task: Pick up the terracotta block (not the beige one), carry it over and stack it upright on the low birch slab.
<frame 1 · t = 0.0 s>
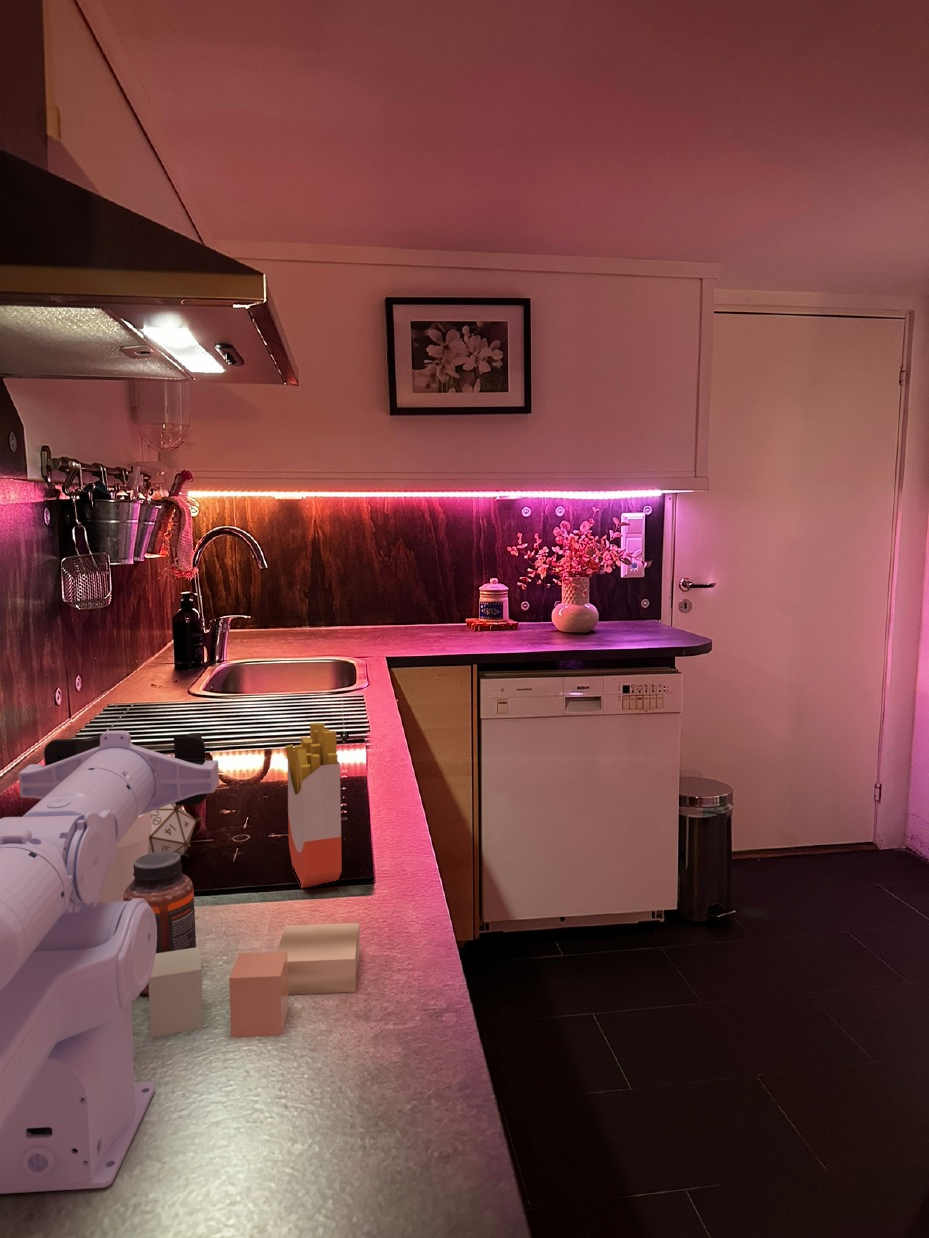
hand: (152, 744, 72), 22 cm above the counter, tool horizontal, fingers open, 7 cm apart
birch slab: (319, 972, 75), on the counter
game die: (164, 864, 102), on the counter
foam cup: (106, 940, 82), on the counter
beige block: (177, 1019, 68), on the counter
french fries container: (313, 878, 98), on the counter
supplement bottle: (162, 982, 74), on the counter
terracotta block: (260, 1022, 68), on the counter
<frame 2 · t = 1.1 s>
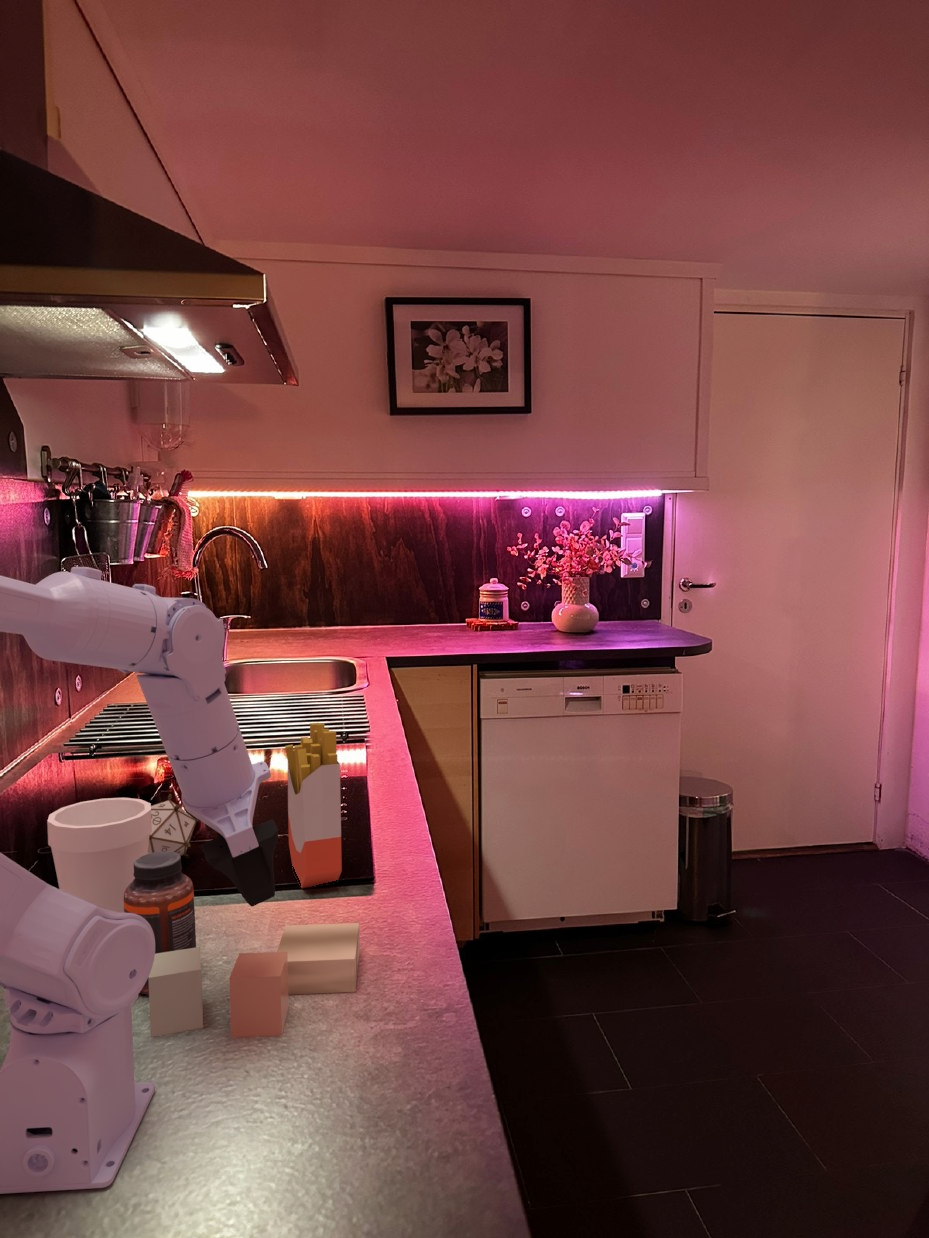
hand: (251, 872, 70), 11 cm above the counter, tool tilted 20°, fingers open, 7 cm apart
nothing on the counter moved.
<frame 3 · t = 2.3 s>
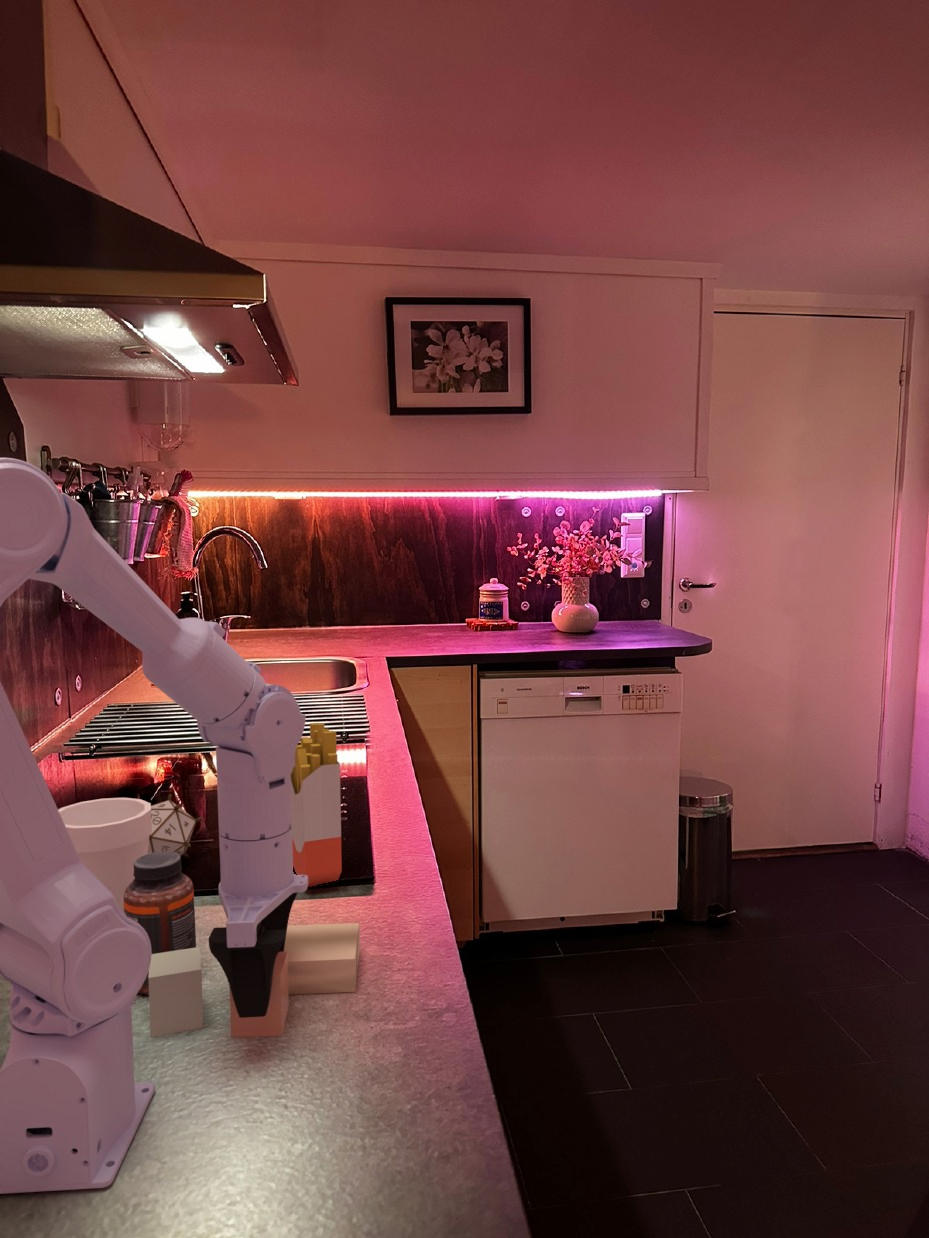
hand: (261, 988, 68), 3 cm above the counter, tool pointing down, fingers open, 7 cm apart
nothing on the counter moved.
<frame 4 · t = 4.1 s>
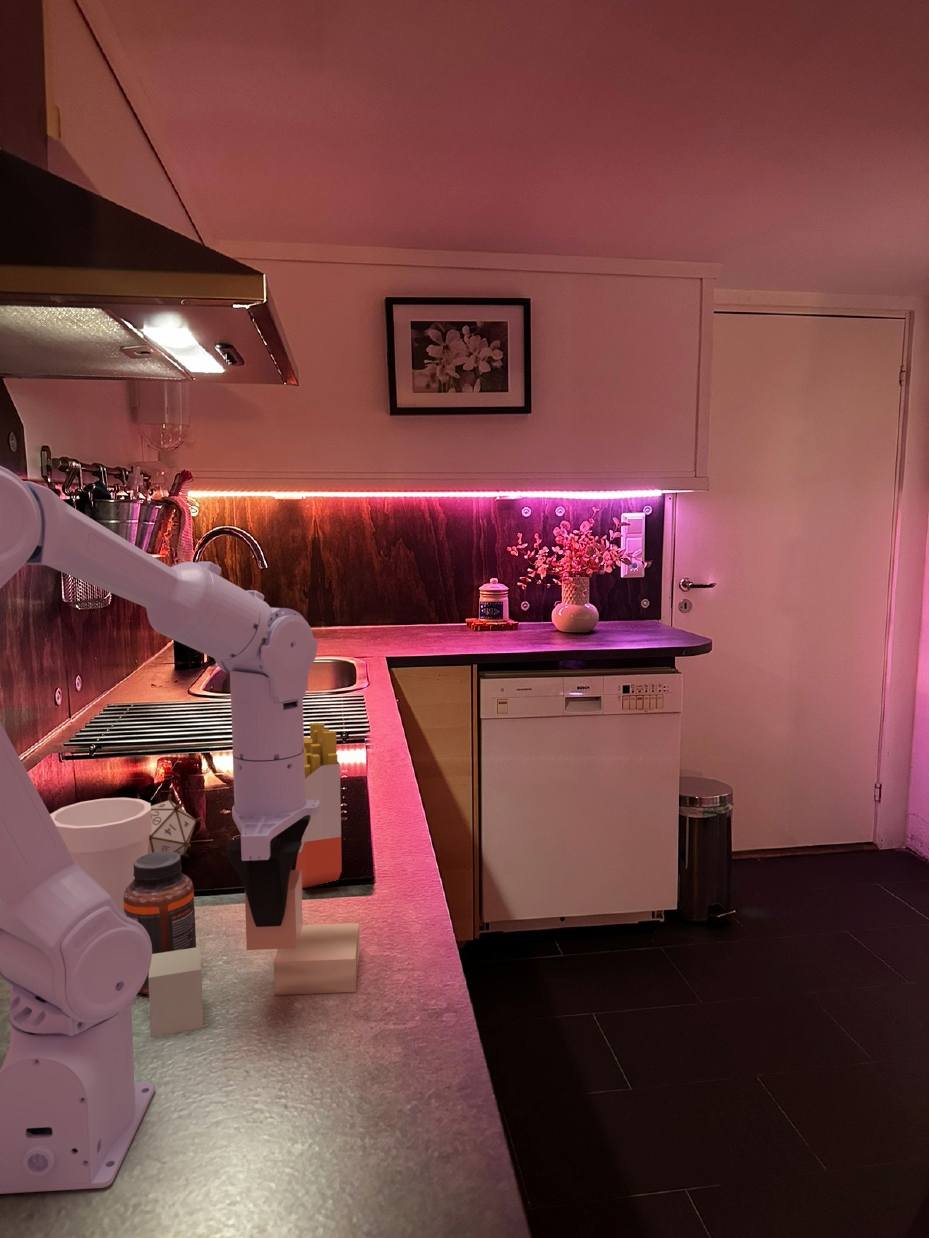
hand: (273, 911, 69), 9 cm above the counter, tool pointing down, fingers closed on terracotta block, 4 cm apart
terracotta block: (275, 937, 69), point 6 cm above the counter, touching gripper
everything else where it was.
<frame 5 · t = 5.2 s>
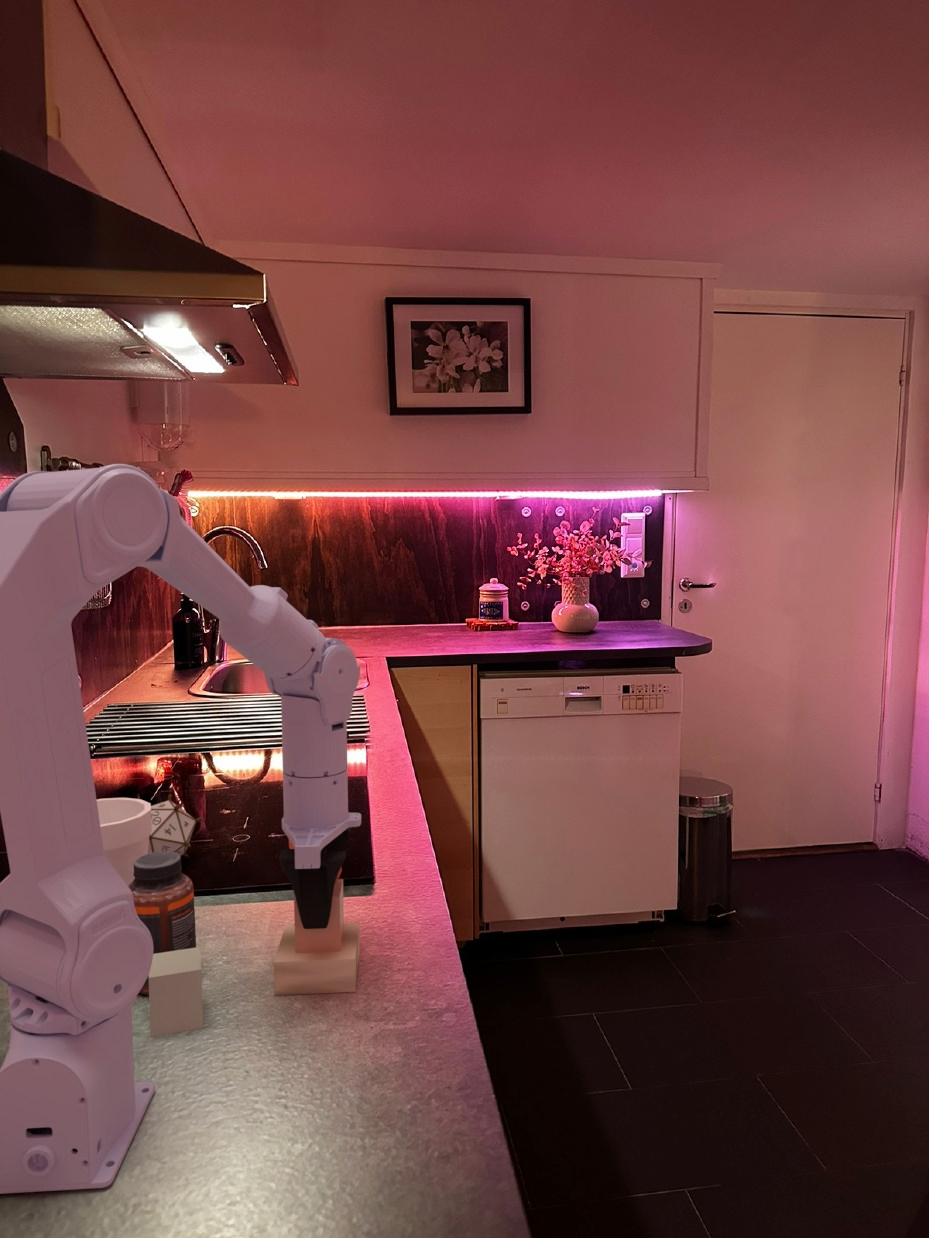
hand: (318, 915, 75), 5 cm above the counter, tool pointing down, fingers closed on terracotta block, 4 cm apart
terracotta block: (320, 941, 75), point 3 cm above the counter, touching birch slab, gripper
everything else where it was.
when the fingers open (5 cm above the counter, at t = 5.4 s): terracotta block stays where it is, resting on birch slab.
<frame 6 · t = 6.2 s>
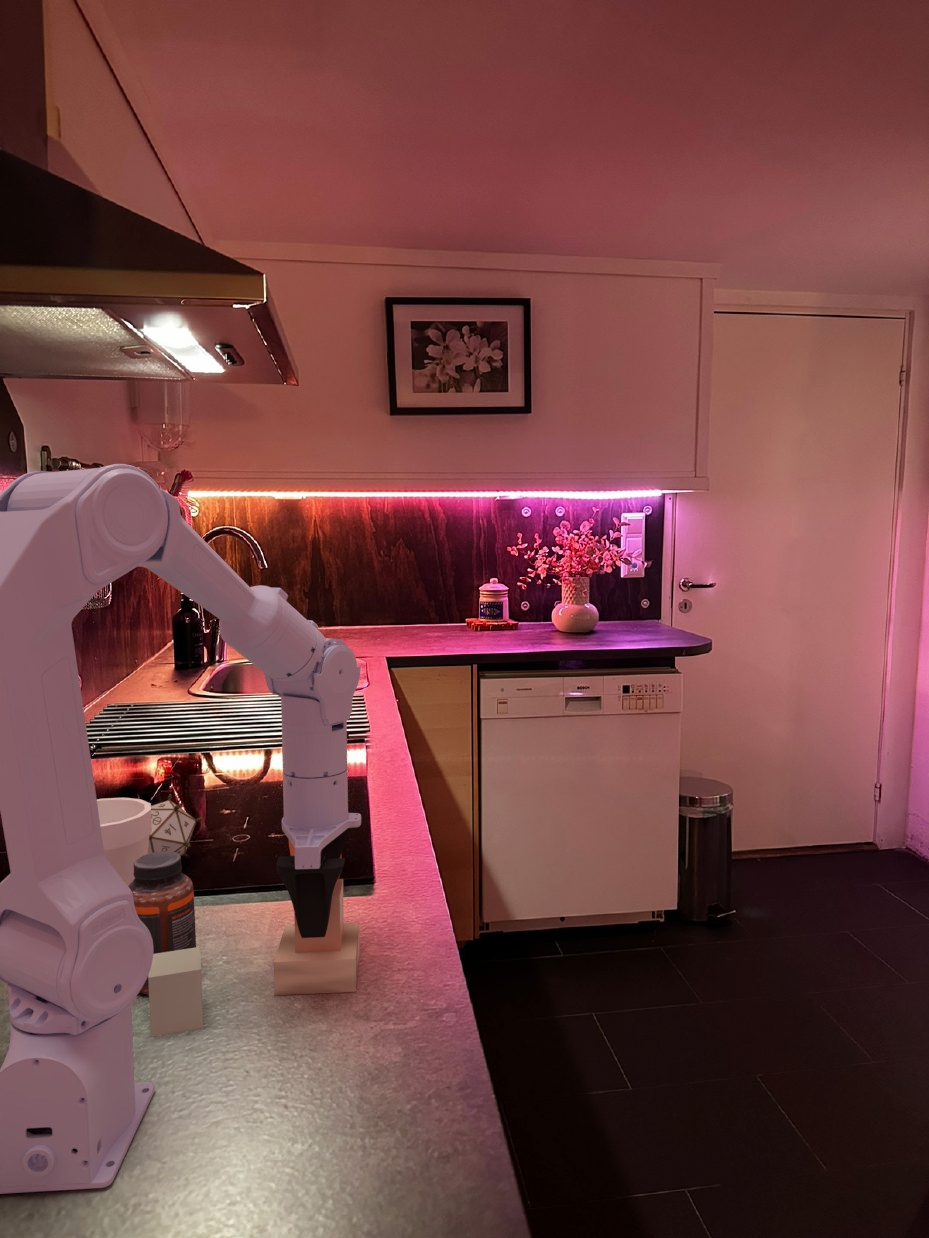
hand: (318, 916, 75), 5 cm above the counter, tool pointing down, fingers open, 7 cm apart
terracotta block: (320, 941, 75), point 3 cm above the counter, touching birch slab
everything else where it was.
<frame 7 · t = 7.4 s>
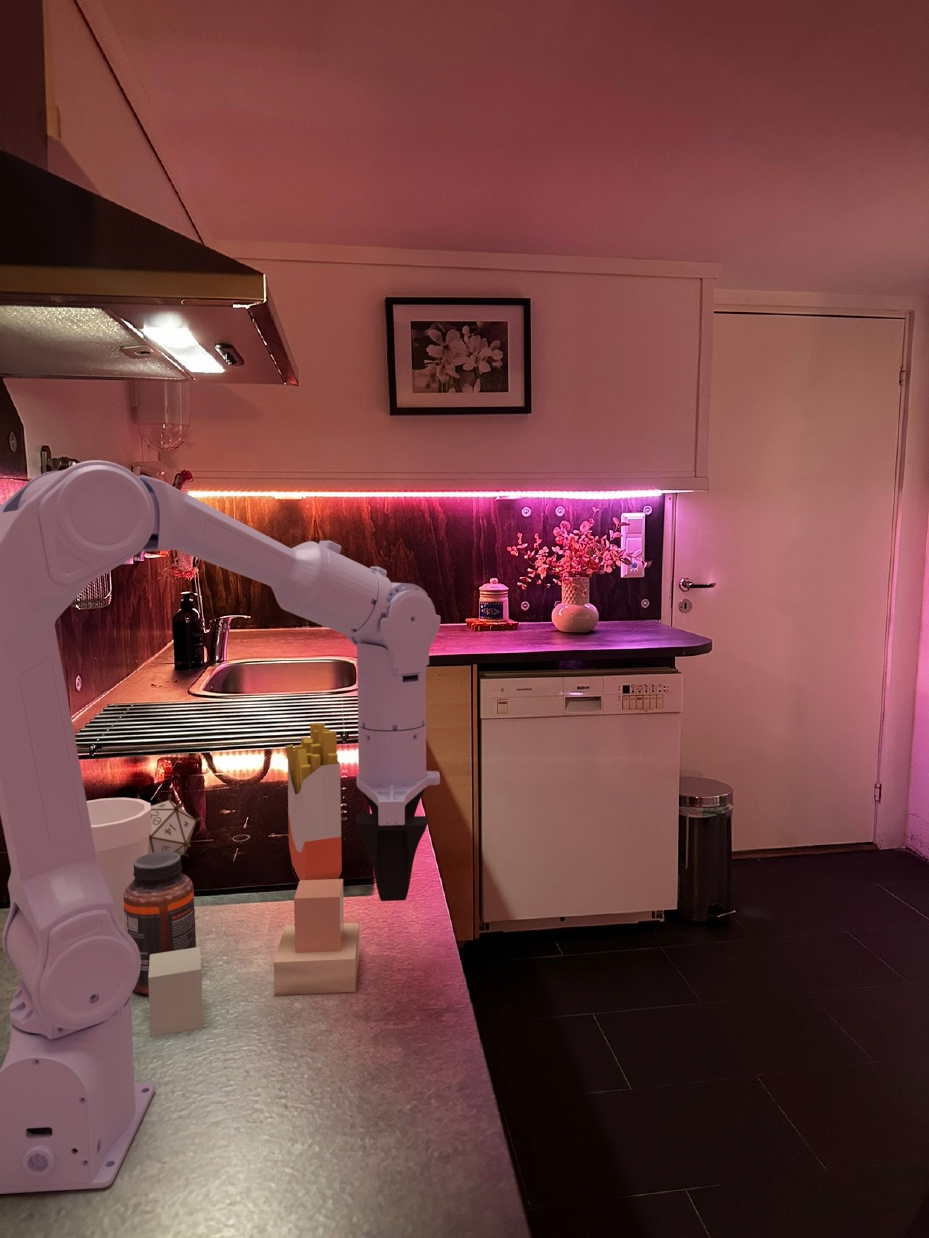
hand: (393, 880, 71), 10 cm above the counter, tool pointing down, fingers open, 7 cm apart
nothing on the counter moved.
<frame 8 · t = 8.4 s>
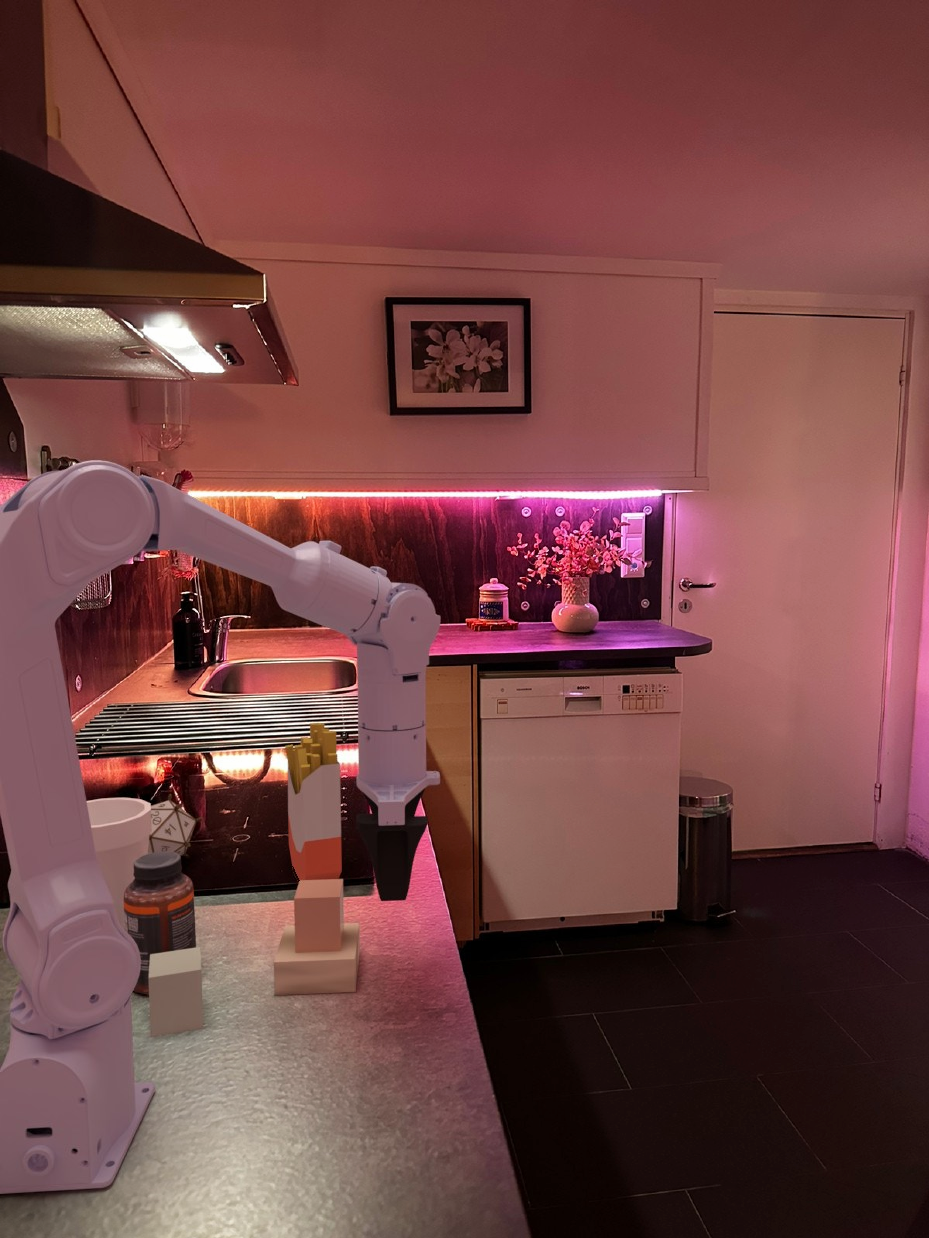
hand: (393, 880, 71), 10 cm above the counter, tool pointing down, fingers open, 7 cm apart
nothing on the counter moved.
at the end: terracotta block 0.1 cm off-centre on the birch slab, point 3.0 cm above the birch slab's base; terracotta block tilted 0°; beige block moved 0.1 cm from its start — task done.
